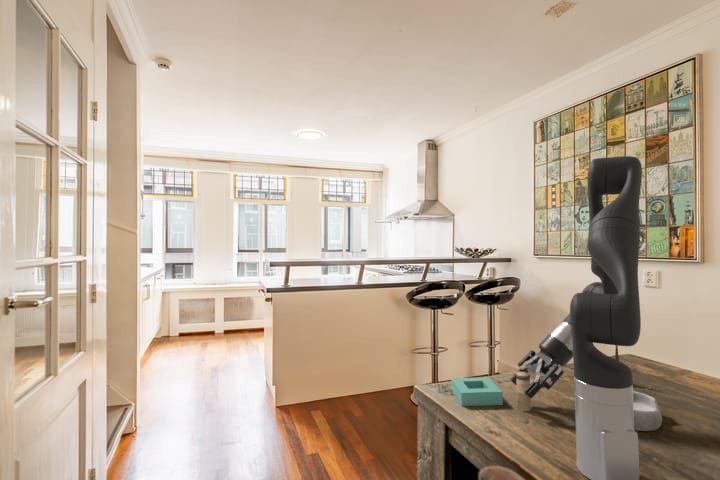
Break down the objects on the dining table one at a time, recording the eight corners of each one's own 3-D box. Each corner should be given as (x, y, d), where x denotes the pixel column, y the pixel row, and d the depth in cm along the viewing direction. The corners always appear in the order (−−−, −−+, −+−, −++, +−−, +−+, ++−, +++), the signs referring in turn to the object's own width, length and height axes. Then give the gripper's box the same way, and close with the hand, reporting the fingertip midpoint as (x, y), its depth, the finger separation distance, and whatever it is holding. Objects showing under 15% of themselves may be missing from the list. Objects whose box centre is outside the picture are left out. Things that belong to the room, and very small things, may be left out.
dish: (648, 410, 96) (648, 390, 96) (678, 437, 83) (677, 414, 83) (584, 405, 100) (584, 386, 100) (603, 430, 87) (602, 408, 87)
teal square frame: (502, 404, 101) (502, 391, 101) (461, 406, 101) (461, 392, 101) (488, 389, 112) (488, 377, 112) (451, 390, 112) (451, 378, 112)
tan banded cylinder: (533, 411, 97) (532, 375, 97) (520, 411, 97) (519, 376, 97) (527, 405, 100) (526, 371, 100) (514, 406, 100) (513, 371, 100)
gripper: (538, 327, 106) (499, 370, 106) (566, 340, 91) (521, 389, 91) (558, 346, 106) (518, 388, 106) (589, 362, 91) (543, 411, 91)
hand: (519, 388), depth 98 cm, fingers open, 8 cm apart
